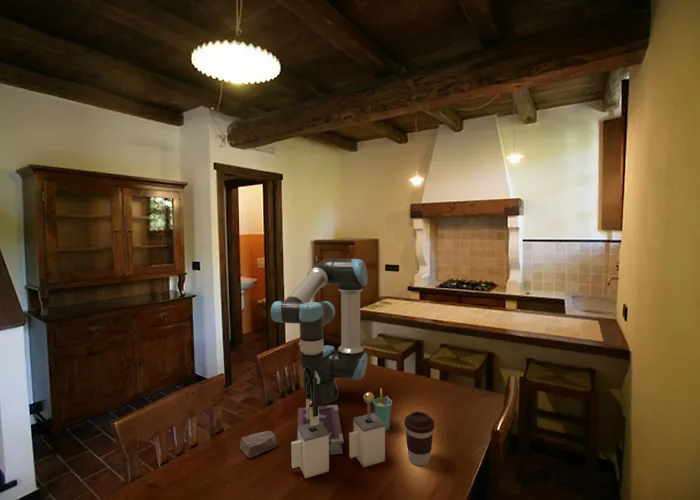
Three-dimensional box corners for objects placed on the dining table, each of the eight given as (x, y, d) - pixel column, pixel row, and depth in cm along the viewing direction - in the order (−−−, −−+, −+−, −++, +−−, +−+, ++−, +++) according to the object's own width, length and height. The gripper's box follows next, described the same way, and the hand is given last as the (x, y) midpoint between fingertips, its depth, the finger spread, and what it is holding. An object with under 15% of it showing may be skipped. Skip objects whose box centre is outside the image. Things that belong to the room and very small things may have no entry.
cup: (399, 437, 133) (399, 398, 133) (380, 440, 131) (380, 401, 131) (386, 418, 147) (386, 382, 146) (368, 421, 145) (368, 385, 144)
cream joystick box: (289, 465, 118) (288, 428, 117) (320, 456, 122) (320, 420, 122) (295, 481, 111) (294, 441, 110) (328, 471, 115) (328, 432, 114)
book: (343, 454, 124) (343, 440, 124) (297, 458, 122) (296, 444, 122) (337, 416, 149) (337, 404, 149) (298, 419, 147) (298, 407, 147)
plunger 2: (360, 450, 123) (359, 390, 122) (371, 447, 125) (371, 388, 124) (365, 458, 119) (365, 396, 118) (378, 454, 121) (377, 394, 120)
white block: (345, 455, 123) (345, 419, 122) (373, 447, 127) (373, 412, 127) (355, 470, 116) (354, 432, 115) (384, 460, 120) (384, 424, 119)
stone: (268, 436, 135) (268, 424, 135) (280, 447, 128) (280, 435, 128) (238, 448, 128) (238, 435, 127) (248, 461, 121) (248, 448, 120)
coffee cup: (428, 473, 114) (428, 427, 113) (399, 462, 119) (399, 419, 118) (438, 456, 122) (438, 413, 121) (411, 446, 128) (411, 406, 127)
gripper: (293, 345, 121) (294, 411, 122) (308, 361, 106) (309, 437, 107) (314, 342, 124) (315, 407, 125) (331, 357, 109) (332, 431, 110)
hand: (312, 421), depth 116 cm, fingers closed on plunger 1, 4 cm apart
